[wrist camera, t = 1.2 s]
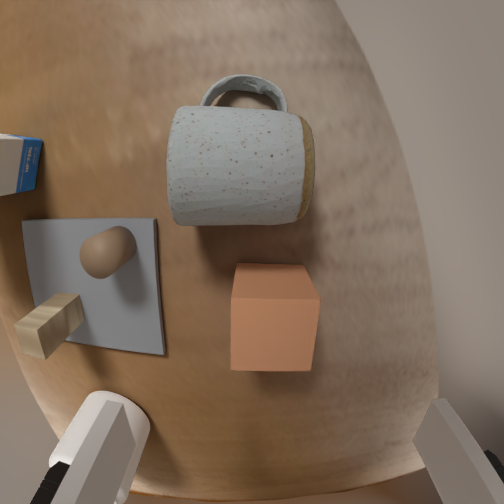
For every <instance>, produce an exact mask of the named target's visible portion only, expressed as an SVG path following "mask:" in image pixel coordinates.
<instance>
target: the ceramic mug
mask: <svg viewBox="0 0 504 504" xmlns="http://www.w3.org/2000/svg"><path fill="white" fill-rule="evenodd" d="M231 90H242V91H250V92H256V93H258V94H266V95H267V96H269V97H270V98H271V99H272V100H273V101H274V102H275V103H276V105H277V109H278V110H279V111H277V110H265V109H245V108H233V107H216V106H210V105H211V104H212V102H213V101H214V99H215V98H217V97H218V96H219V95H221V94H222V93H224V92H227V91H231ZM166 165H167V193H168V203H169V207H170V211H171V213H172V216H173V219H174V221H175V222H176V223H177V224H178V225H181V226H196V225H279V224H285V223H291V222H295V221H298V220H300V219H301V218H302V217H303V216H304V215H305V213H306V212H307V210H308V208H309V205H310V201H311V198H312V193H313V186H314V176H315V149H314V140H313V135H312V130H311V128H310V126H309V125H308V123H307V122H306V121H305V120H304V119H303V118H302V117H300V116H297V115H294V114H291V113H288V105H287V102H286V98H285V96H284V95H283V93H282V91H281V90H280V88H279V87H277V86H276V85H275V84H274V83H272V82H270V81H269V80H267V79H264V78H262V77H258V76H254V75H246V74H238V75H231V76H227V77H224V78H222V79H220V80H219V81H217V82H216V83H214V84H213V85H212V86H211V87H210V88H209V89H208V91H207V92H206V93H205V95H204V97H203V98H202V100H201V103H200V105H199V106H181V107H180V108H179V109H178V110H177V111H176V113H175V115H174V118H173V120H172V124H171V130H170V133H169V140H168V146H167V163H166Z"/></svg>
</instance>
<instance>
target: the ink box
mask: <svg viewBox="0 0 504 504" xmlns="http://www.w3.org/2000/svg"><path fill="white" fill-rule="evenodd" d="M41 146H42V139H36V138H30V137H23V136H16V135H9V134H0V196H3V195H8V194H13V193H19V192H24V191H30V190H34V189H35V182H36V175H37V169H38V162H39V156H40V151H41Z"/></svg>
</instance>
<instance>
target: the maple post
mask: <svg viewBox="0 0 504 504" xmlns="http://www.w3.org/2000/svg"><path fill="white" fill-rule="evenodd" d="M83 321H84V315H83V310H82V305H81V299H80V294H72V293H63V292H57V293H56V294H54V295H53V296H52V297H50V298H49V299H48V300H46V301H45V302H43V303H42V304H41V305H39V306H38V307H37V308H35V309H34V310H33V311H31V312H30V313H29V314H27V315H26V316H25V317H24V318H22V319H21V320H20V321H18V322H17V323H16V324H15V325H14V326H15V330H16V333H17V337H18V340H19V343H20V346H21V349H22V352H23V354H26V355H30V356H33V357H37V358H40V359H44V360H46V359H47V358H48V357H49V356H50V355H51V354H52V353H53V352H54V351H55V350H56V349H57V348H58V347H59V346H60V344H61V343H62V342H63V341H64V340H65V339H66V338H67V337H68V336H69V335H70V334H71V333H72V332H73V331H74V330H75V329H76V328H77V327H78V326H79V325H80V324H81V323H82V322H83Z"/></svg>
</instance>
